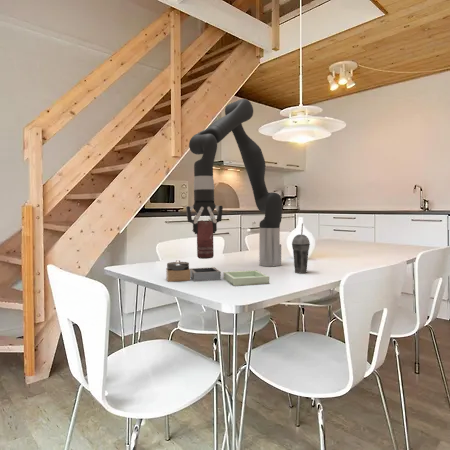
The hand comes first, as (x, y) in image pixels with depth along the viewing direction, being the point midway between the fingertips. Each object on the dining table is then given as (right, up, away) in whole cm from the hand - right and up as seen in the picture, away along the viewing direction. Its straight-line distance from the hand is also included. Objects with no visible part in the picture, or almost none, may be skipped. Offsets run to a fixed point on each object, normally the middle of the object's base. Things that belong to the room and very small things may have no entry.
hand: (204, 233), depth 134 cm
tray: (+15, -17, -5) cm, 23 cm away
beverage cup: (+38, -16, +11) cm, 43 cm away
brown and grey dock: (-4, -17, 0) cm, 18 cm away
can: (0, -9, 0) cm, 9 cm away
